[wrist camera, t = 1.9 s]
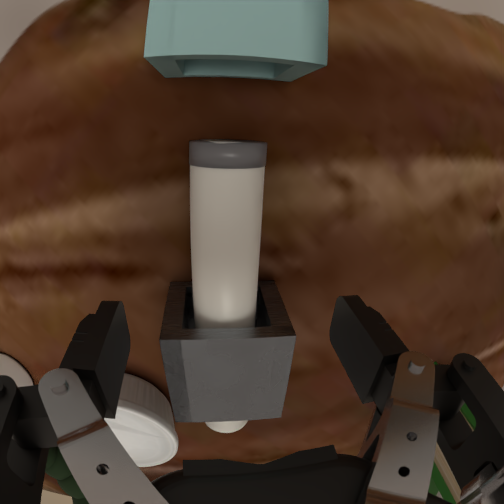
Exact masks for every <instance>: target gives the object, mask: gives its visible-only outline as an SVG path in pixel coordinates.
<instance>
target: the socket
mask: <svg viewBox="0 0 504 504" xmlns="http://www.w3.org/2000/svg"><path fill="white" fill-rule="evenodd" d="M327 52H328V0H150V4H149V12H148V20H147V29H146V39H145V50H144V58H145V59H146V60H147V61H148V62H150V63H151V64H152V65H153V66H154V67H155V68H156V69H157V70H158V71H159V72H160V73H161V74H162V75H163V76H164V77H165V78H172V77H235V78H254V79H267V80H278V81H288V82H291V81H293V80H295V79H297V78H300V77H302V76H304V75H306V74H308V73H311V72H313V71H315V70H318V69H320V68H322V67H325V66H327Z"/></svg>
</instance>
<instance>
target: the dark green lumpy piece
mask: <svg viewBox="0 0 504 504" xmlns="http://www.w3.org/2000/svg"><path fill="white" fill-rule="evenodd" d="M45 472H46V473H47V474H48V475H50V476H51V477H53V478H55V479H57V481H58V484H59V485H60V487H61V488H62V489H63V490H64V491H65V492H66V493H67V494H68V495H70V496H72V500H73V504H89V502H88V501H87V499H86V498H85V496H84V494H83V493H82V491H81V489H80V487H79V486H78V484H77V482H76V480H75V479H74V477H73V475H72V473H71V471H70V469H69V467H68V466H67V464H66V462H65V460H64V458H63V456H62V454H61V452H60V449H59V447H50V448H49V453H48V458H47V464H46V469H45Z"/></svg>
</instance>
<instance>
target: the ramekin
mask: <svg viewBox="0 0 504 504" xmlns="http://www.w3.org/2000/svg"><path fill="white" fill-rule="evenodd" d="M104 420H105V421H106V422H107V424H108V425H109V427H110V428H111V430H112V431H113V433H114V434H115V436H116V437H117V439H118V440H119V442H120V443H121V444H122V446H123V447H124V449H125V450H126V451H127V453H128V454H129V456H130V457H131V458H132V460H133V461H134V462H135V464H136V465H137V466H138V467H148V466H155V465H159V464H162V463H164V462H167V461H168V460H170V459H171V458H173V457H174V455H175V454H176V452H177V450H178V436H177V433H176V431H175V427H174V421H173V415H172V410H171V406H170V404H169V402H168V400H167V399H166V397H165V396H164V395H163V394H162V393H161V392H160V391H159V390H158V389H157V388H156V387H155V386H154V385H152V384H151V383H149V382H147V381H145V380H143V379H141V378H139V377H136V376H134V375H130V374H126V373H124V377H123V382H122V386H121V391H120V396H119V401H118V406H117V411H116V416H115V419H109V418H104Z"/></svg>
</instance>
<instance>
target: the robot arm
mask: <svg viewBox="0 0 504 504" xmlns="http://www.w3.org/2000/svg"><path fill="white" fill-rule="evenodd" d="M330 341H331V344H332V346H333V348H334V349H335V351H336V353H337V355H338V357H339V359H340V361H341V363H342V365H343V367H344V368H345V370H346V372H347V374H348V376H349V378H350V380H351V382H352V384H353V386H354V388H355V390H356V392H357V394H358V396H359V397H360V399H361V401H362V403H363V404H364V403H369V402H373V401H374V402H375V403H376V407H375V409H374V411H373V414H372V417H371V420H370V423H369V426H368V429H367V432H366V435H365V438H364V441H363V444H362V447H361V449H360V451H359V453H358V455H357V456H352V455H346V454H337V453H336V450H335V448H334V445H330V446H325V447H320V448H315V449H309V450H303V451H298V452H296V453H293V454H291V455H288V456H285V457H283V458H280V459H277V460H275V461H272V462H269V463H266V464H251V463H243V462H236V461H229V460H223V459H216V460H183V469H182V470H178V471H174V472H171V473H168V474H166V475H163V476H161V477H159V478H157V479H156V480H154V481H152V482H150V481H149V480H148V479H147V478H146V476H145V475H144V474H143V473H142V471H141V470H140V469H139V467H138V466H137V465H136V464H135V462H134V461H133V460H132V458H131V457H130V456H129V454H128V453H127V451H126V450H125V449H124V447H123V446H122V444H121V443H120V442H119V440H118V439H117V437H116V436H115V434H114V433H113V431H112V430H111V428H110V427H109V425H108V424H107V422H106V421H105V420H104V418H109V419H115V416H116V411H117V406H118V401H119V396H120V391H121V386H122V382H123V377H124V373H125V369H126V364H127V360H128V356H129V352H130V335H129V330H128V325H127V320H126V315H125V310H124V305H123V303H122V301H102V302H101V303H100V305H99V308H98V310H97V312H96V314H89V315H88V316H86V317H85V318H84V319H83V320H82V321H81V322H80V324H79V326H78V328H77V330H76V333H75V334H74V336H73V338H72V341H71V342H70V344H69V347H68V349H67V351H66V353H65V355H64V358H63V360H62V362H61V364H60V367H59V369H55V370H52V371H50V372H48V373H46V374H45V375H44V376H43V377H42V378H41V380H40V382H39V384H38V385H32V386H23V387H18V386H17V385H16V383H15V381H14V380H13V379H12V378H11V377H9V376H6V375H0V504H40V502H41V493H42V487H43V481H44V475H45V469H46V464H47V458H48V453H49V448H50V447H59V449H60V452H61V454H62V456H63V458H64V460H65V462H66V464H67V466H68V467H69V469H70V471H71V473H72V475H73V477H74V479H75V480H76V482H77V484H78V486H79V487H80V489H81V491H82V493H83V494H84V496H85V498H86V499H87V501H88V502H89V504H453V503H451V502H448V501H446V500H444V499H442V498H440V497H437V496H435V495H433V494H431V493H429V492H428V489H429V484H430V479H431V474H432V469H433V463H434V457H435V450H436V442H437V443H438V445H439V447H440V449H441V451H442V453H443V455H444V457H445V459H446V461H447V463H448V465H449V467H450V469H451V471H452V473H453V475H454V477H455V479H456V481H457V483H458V485H459V487H460V490H461V494H460V501H459V502H458V503H457V504H504V391H503V390H502V389H501V387H500V386H499V385H498V383H497V382H496V381H495V379H494V378H493V377H492V376H491V374H490V373H489V372H488V371H487V369H486V368H485V367H484V366H483V364H482V363H481V362H480V361H479V360H478V359H477V358H476V357H474V356H472V355H470V354H465V353H460V354H457V355H456V356H455V357H454V358H453V360H452V362H451V364H450V365H436V364H434V363H433V361H432V360H431V359H430V358H429V357H428V356H426V355H425V354H422V353H420V352H416V351H409V350H408V348H407V347H406V346H405V345H404V343H403V342H402V341H401V339H400V338H399V337H398V336H397V334H396V333H395V332H394V331H393V330H392V329H391V327H390V325H389V324H388V323H386V320H385V319H384V318H383V317H382V315H381V314H380V313H379V312H377V311H376V310H374V309H373V308H371V307H367V306H366V305H365V303H364V302H363V301H362V300H361V298H360V297H359V296H358V295H352V296H339V297H338V298H337V300H336V304H335V309H334V313H333V318H332V322H331V326H330ZM464 403H466V405H467V407H468V408H469V410H470V411H471V413H472V414H473V416H474V417H475V420H476V427H475V430H474V431H472V429H471V428H470V426H469V424H468V423H467V421H466V420H465V418H464V416H463V415H462V413H461V412H460V409H461V407H462V406H463V404H464Z"/></svg>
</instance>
